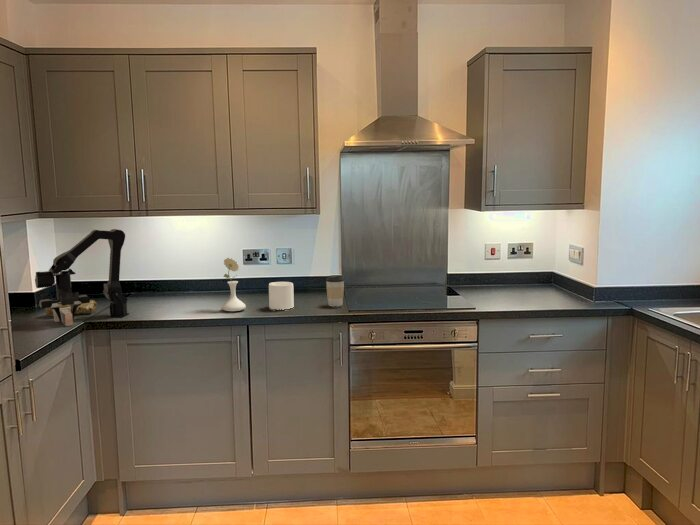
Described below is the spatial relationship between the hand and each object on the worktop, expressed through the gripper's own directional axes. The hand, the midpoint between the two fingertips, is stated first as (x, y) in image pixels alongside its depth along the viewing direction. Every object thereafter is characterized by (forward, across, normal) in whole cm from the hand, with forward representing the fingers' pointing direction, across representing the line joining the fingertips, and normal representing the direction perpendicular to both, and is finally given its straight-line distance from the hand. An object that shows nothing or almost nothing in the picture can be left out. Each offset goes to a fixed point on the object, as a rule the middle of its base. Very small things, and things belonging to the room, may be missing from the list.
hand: (66, 320), depth 238 cm
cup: (+2, +88, -32) cm, 94 cm away
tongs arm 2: (+1, +1, 0) cm, 1 cm away
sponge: (+2, +5, +17) cm, 18 cm away
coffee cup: (+1, +112, -44) cm, 120 cm away
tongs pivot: (+1, 0, +8) cm, 8 cm away
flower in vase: (+1, +68, -21) cm, 71 cm away
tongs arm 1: (+1, -1, 0) cm, 1 cm away
